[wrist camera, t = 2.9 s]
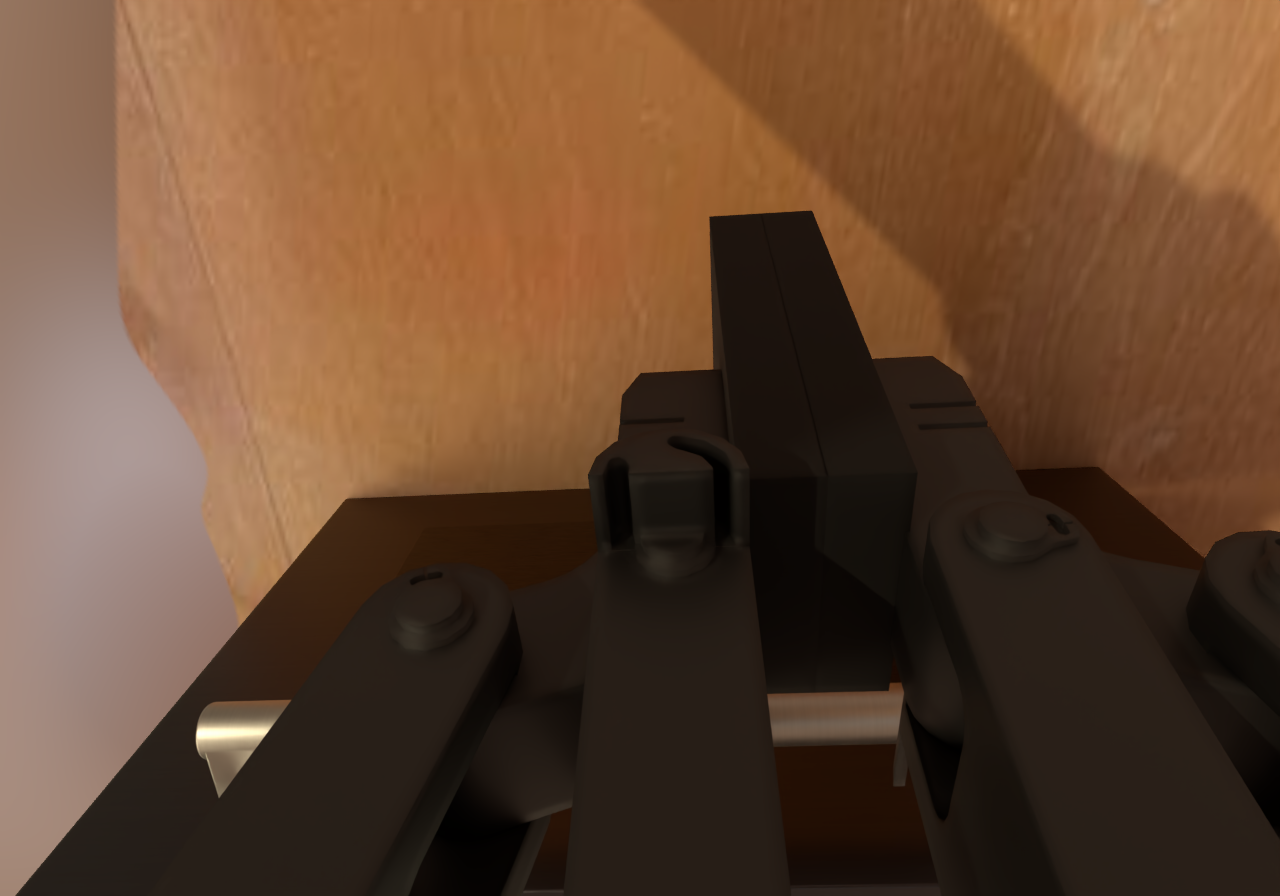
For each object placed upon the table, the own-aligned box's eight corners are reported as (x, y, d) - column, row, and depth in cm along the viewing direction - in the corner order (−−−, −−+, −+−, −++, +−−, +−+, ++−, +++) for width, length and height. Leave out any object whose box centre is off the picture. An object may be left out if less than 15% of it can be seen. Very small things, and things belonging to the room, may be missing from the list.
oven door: (332, 433, 46) (-39, 789, 22) (1109, 397, 44) (1630, 751, 20) (351, 524, 48) (29, 941, 24) (1095, 494, 46) (1554, 924, 22)
